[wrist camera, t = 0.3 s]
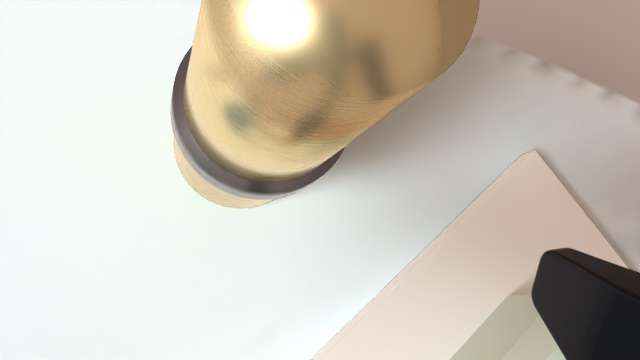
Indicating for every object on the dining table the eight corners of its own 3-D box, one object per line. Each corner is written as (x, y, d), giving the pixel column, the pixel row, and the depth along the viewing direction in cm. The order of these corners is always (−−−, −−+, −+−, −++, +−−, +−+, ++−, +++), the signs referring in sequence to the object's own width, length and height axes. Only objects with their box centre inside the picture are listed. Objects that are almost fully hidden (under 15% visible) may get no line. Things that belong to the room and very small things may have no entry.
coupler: (336, 158, 24) (544, 8, 11) (229, 246, 22) (344, 178, 9) (249, 51, 23) (367, -219, 11) (133, 129, 21) (125, -94, 9)
